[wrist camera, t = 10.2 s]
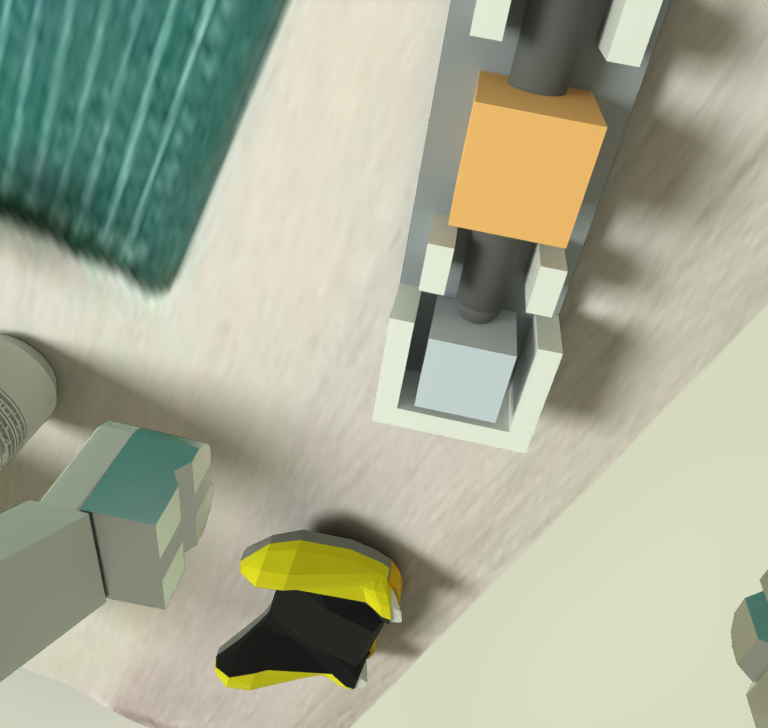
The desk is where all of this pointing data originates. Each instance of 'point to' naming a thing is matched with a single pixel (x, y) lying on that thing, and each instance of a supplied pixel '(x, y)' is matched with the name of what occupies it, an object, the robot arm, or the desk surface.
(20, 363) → the energy drink can
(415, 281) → the grey fixture with posts
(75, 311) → the desk surface
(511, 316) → the orange cube on rod
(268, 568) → the black yellow curved piece
